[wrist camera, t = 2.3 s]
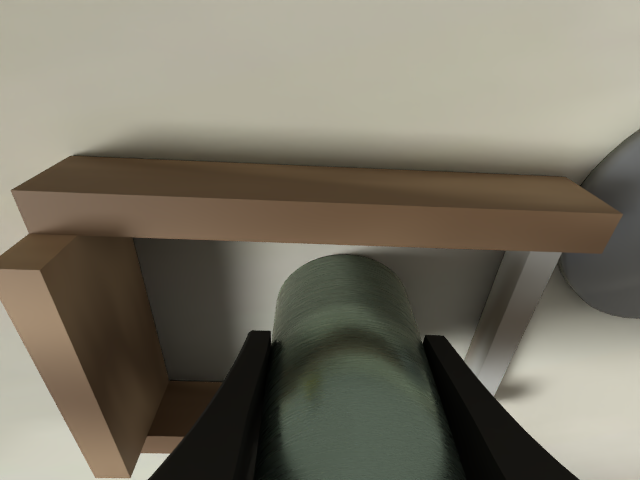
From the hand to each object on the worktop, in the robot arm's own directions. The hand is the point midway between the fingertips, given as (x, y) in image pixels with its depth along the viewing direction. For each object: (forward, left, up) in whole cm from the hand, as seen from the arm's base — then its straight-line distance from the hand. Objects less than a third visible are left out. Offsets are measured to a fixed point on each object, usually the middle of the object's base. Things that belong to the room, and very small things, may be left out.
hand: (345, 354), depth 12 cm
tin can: (0, 0, -2) cm, 2 cm away
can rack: (0, +1, -2) cm, 2 cm away
